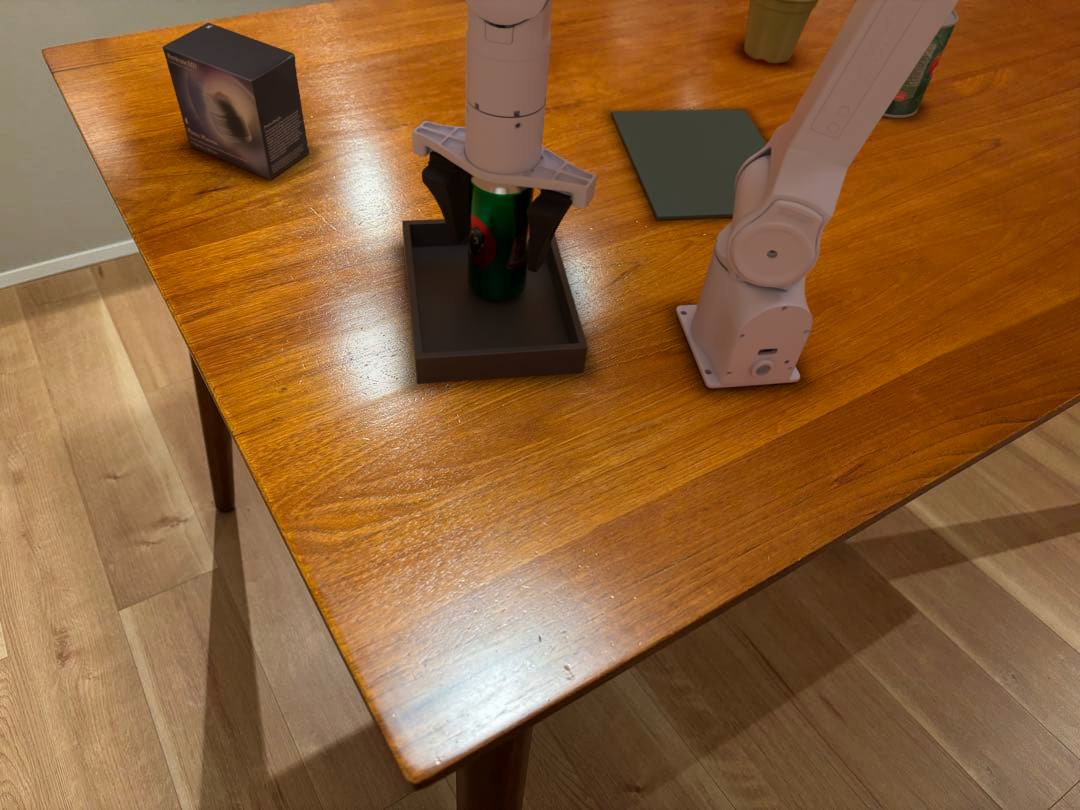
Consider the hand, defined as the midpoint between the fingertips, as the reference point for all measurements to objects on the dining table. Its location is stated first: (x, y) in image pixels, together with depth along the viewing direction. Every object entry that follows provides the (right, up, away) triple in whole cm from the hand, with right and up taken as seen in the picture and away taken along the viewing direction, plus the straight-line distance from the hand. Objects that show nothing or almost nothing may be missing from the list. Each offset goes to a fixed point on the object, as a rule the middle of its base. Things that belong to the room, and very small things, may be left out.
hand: (498, 251), depth 68 cm
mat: (+21, +13, +20) cm, 32 cm away
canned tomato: (+46, +24, +32) cm, 61 cm away
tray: (-1, -4, +2) cm, 5 cm away
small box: (-26, +13, +14) cm, 32 cm away
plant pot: (+33, +33, +38) cm, 60 cm away
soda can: (0, -3, +3) cm, 4 cm away
